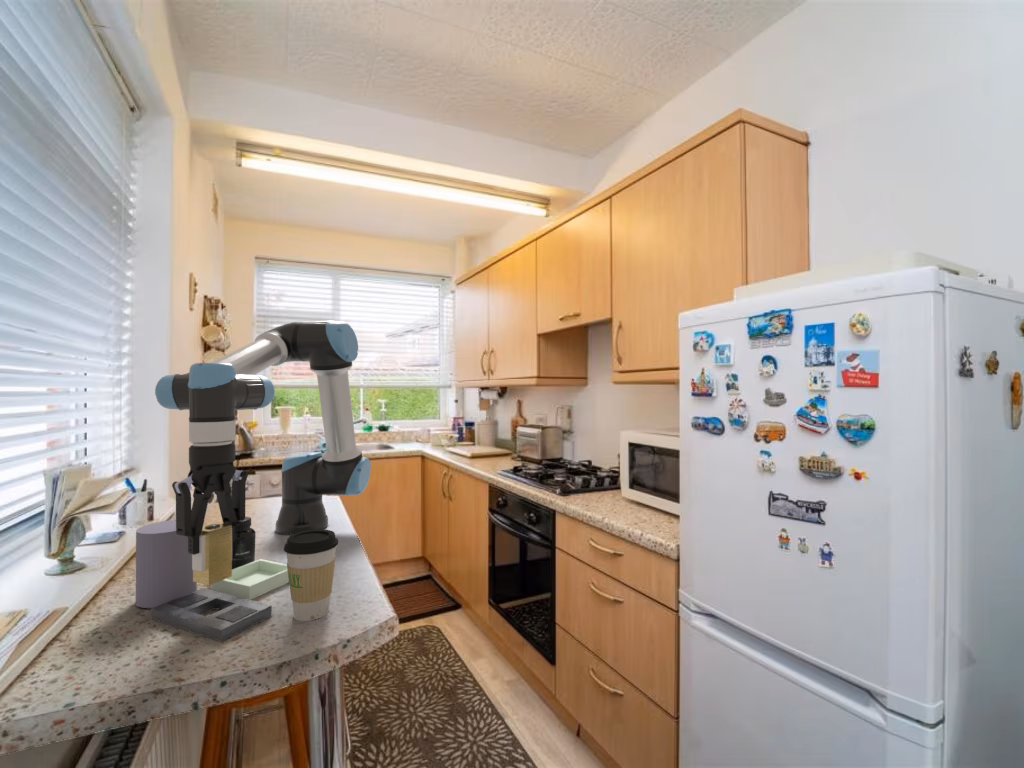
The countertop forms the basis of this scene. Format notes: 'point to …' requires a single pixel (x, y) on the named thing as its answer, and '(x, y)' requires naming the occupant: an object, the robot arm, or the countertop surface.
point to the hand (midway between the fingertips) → (212, 564)
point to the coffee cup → (311, 572)
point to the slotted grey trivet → (217, 625)
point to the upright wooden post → (216, 554)
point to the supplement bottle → (243, 544)
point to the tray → (253, 579)
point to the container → (162, 565)
